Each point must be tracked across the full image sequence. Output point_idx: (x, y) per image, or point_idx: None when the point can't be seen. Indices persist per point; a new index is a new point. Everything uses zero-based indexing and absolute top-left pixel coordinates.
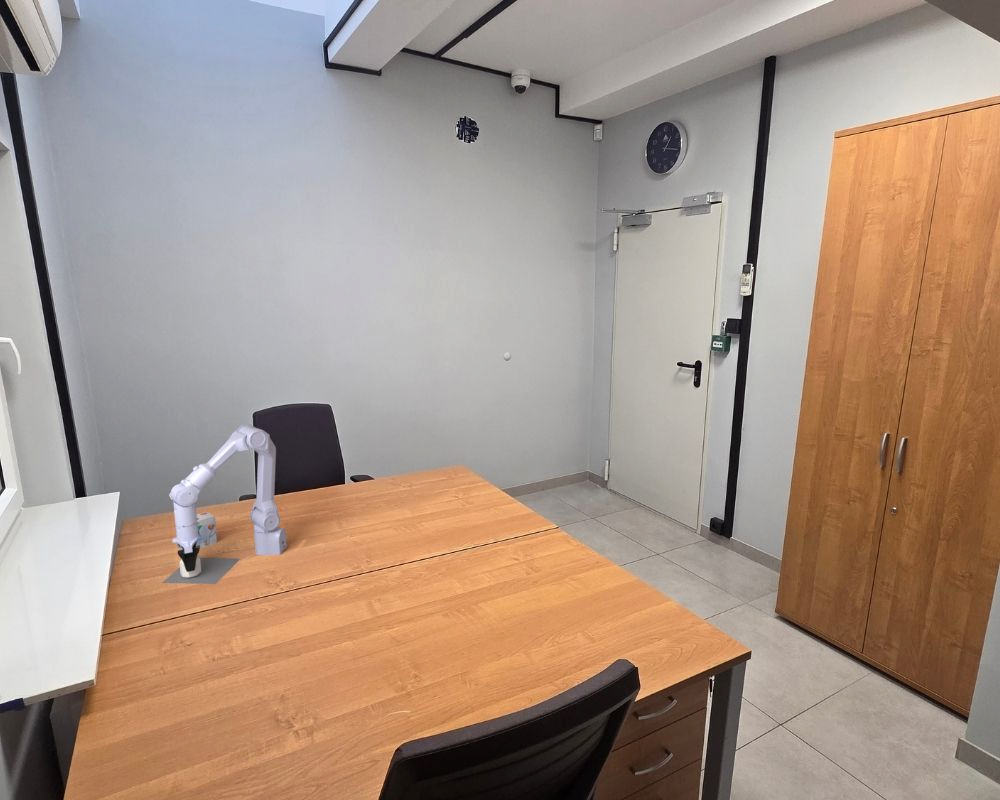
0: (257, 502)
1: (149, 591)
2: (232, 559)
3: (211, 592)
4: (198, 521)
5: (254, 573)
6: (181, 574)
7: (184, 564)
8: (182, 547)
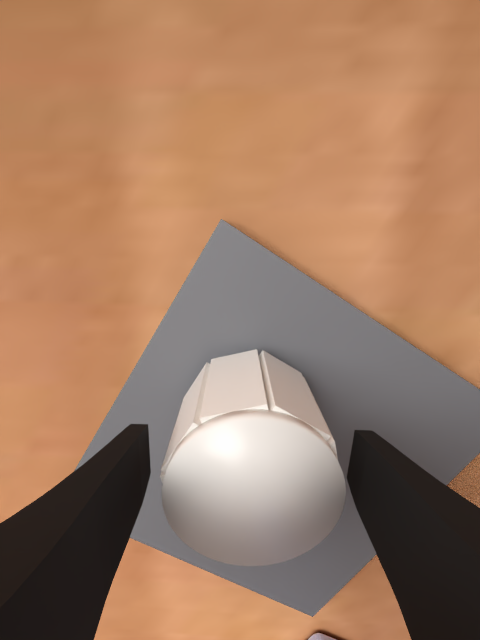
0: None
1: (175, 132)
2: (325, 587)
3: (10, 466)
4: None
5: (141, 625)
6: (232, 358)
7: (65, 478)
8: (466, 552)
